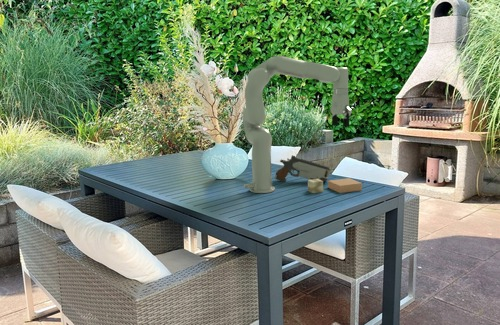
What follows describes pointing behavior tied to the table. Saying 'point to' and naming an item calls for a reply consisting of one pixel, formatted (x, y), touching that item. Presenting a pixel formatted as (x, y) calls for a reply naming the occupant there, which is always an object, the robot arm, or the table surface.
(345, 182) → the terracotta base
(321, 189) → the beech cube
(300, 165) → the gun
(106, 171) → the table surface
